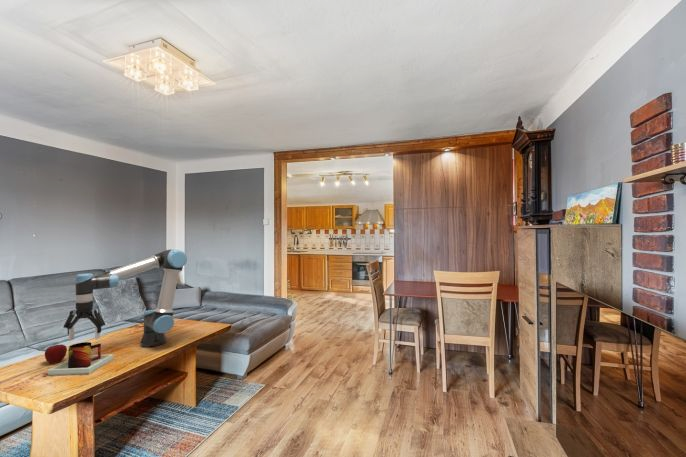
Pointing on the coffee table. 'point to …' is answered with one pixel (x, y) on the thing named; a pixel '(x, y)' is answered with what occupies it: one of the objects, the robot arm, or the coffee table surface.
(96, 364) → the tray
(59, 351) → the apple
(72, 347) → the mug
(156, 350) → the coffee table surface
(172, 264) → the robot arm
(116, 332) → the coffee table surface
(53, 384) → the coffee table surface
